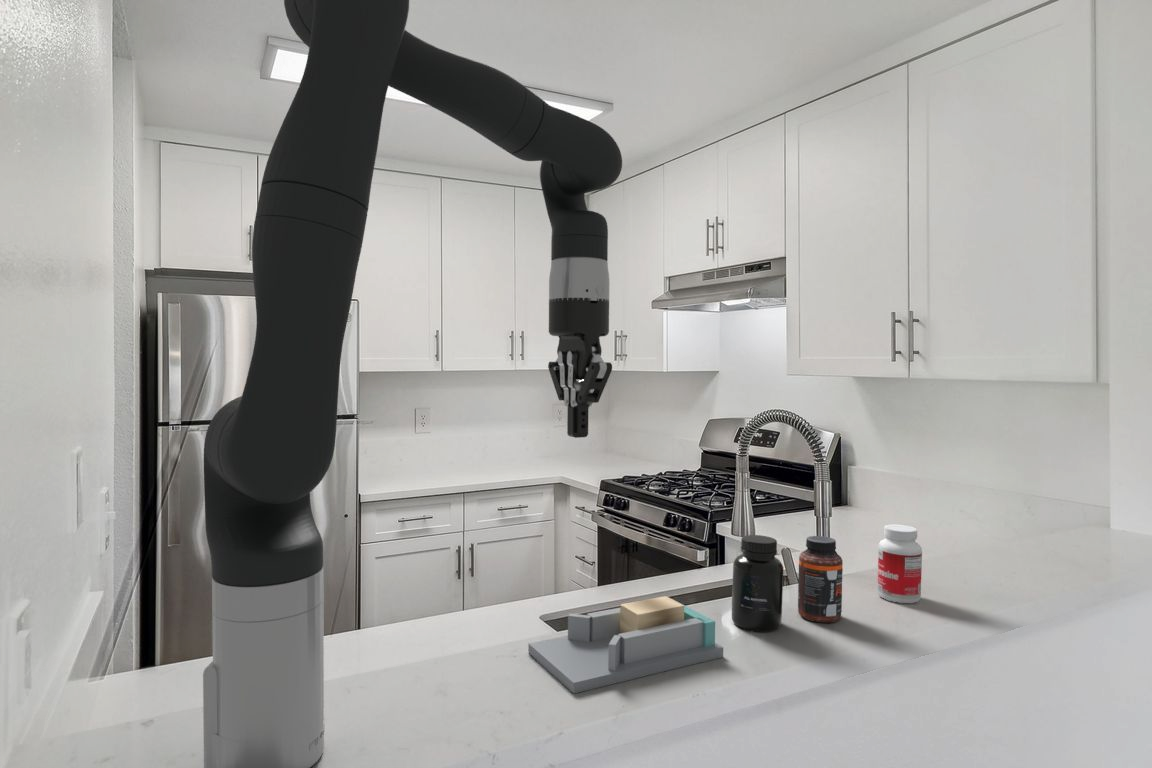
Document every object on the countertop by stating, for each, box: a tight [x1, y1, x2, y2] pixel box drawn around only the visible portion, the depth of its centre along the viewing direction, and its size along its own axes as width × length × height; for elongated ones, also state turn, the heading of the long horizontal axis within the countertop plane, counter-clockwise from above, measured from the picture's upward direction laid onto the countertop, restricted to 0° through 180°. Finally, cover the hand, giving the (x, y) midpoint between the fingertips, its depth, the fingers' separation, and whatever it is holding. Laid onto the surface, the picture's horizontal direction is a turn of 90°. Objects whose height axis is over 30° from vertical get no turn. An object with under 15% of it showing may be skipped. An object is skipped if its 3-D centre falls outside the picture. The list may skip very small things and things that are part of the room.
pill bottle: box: [876, 523, 923, 604], centre depth 109 cm, size 6×6×11 cm
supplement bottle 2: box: [797, 535, 844, 624], centre depth 101 cm, size 6×6×11 cm
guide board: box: [528, 596, 724, 694], centre depth 87 cm, size 21×12×4 cm, turn 118°
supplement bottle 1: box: [731, 534, 784, 633], centre depth 98 cm, size 7×7×12 cm
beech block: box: [619, 595, 684, 634], centre depth 89 cm, size 7×4×4 cm, turn 118°
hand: (577, 436), depth 88 cm, fingers closed
